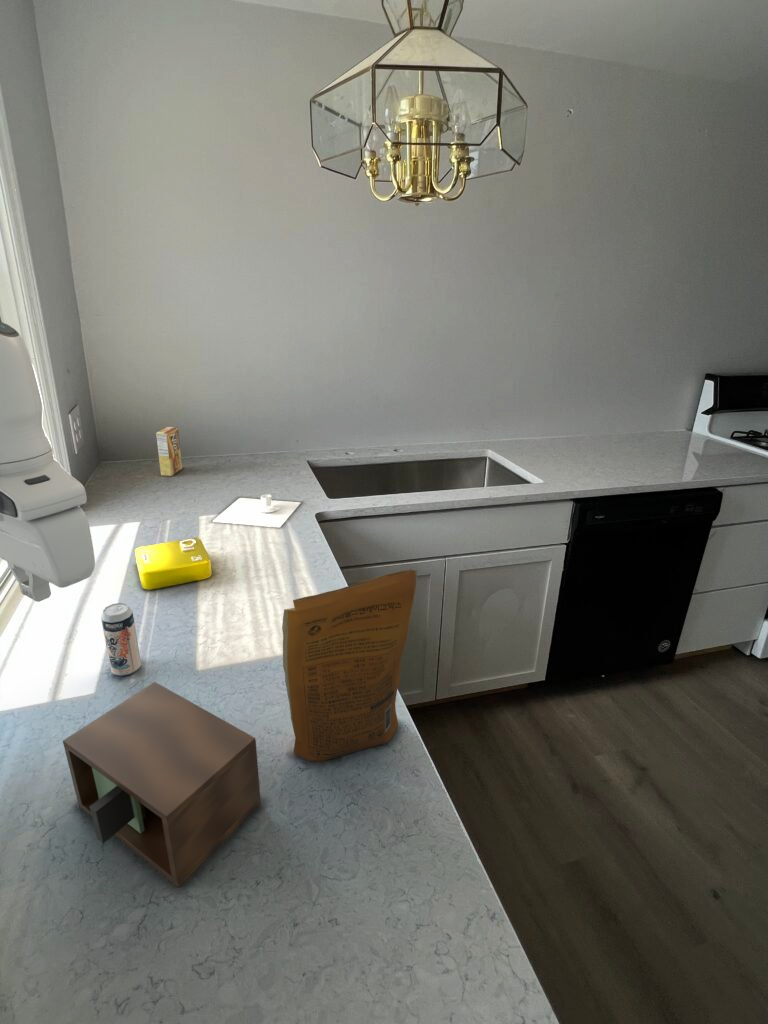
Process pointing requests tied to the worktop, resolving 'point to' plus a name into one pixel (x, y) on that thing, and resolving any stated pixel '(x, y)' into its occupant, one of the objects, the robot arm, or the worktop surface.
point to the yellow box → (172, 563)
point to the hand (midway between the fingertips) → (36, 596)
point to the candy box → (169, 451)
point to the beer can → (121, 639)
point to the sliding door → (113, 809)
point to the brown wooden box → (169, 776)
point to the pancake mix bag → (346, 664)
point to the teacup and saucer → (258, 512)
